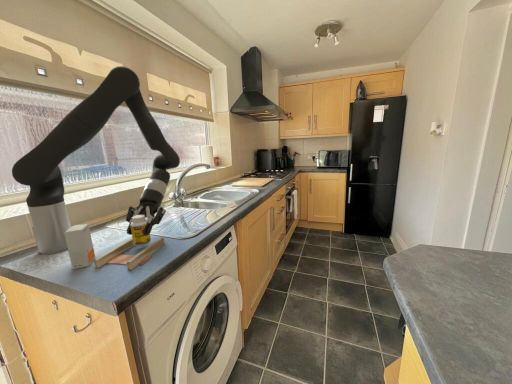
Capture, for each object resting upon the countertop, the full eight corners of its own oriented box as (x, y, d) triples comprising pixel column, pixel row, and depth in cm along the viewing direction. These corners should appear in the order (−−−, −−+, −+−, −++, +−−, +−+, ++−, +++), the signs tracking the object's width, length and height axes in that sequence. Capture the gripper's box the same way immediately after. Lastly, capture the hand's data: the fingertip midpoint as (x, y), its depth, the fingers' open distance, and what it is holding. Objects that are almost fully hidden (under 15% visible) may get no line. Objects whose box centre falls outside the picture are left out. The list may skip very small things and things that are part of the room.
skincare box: (89, 266, 64) (81, 229, 61) (72, 269, 62) (63, 232, 59) (96, 257, 69) (88, 223, 67) (80, 260, 68) (72, 225, 65)
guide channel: (91, 267, 63) (89, 260, 62) (131, 242, 79) (130, 236, 79) (135, 270, 61) (134, 262, 60) (168, 243, 77) (167, 237, 77)
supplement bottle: (134, 248, 71) (129, 220, 69) (133, 242, 75) (128, 215, 73) (152, 243, 74) (148, 216, 72) (150, 238, 78) (146, 212, 76)
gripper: (131, 188, 79) (111, 229, 70) (166, 188, 77) (150, 231, 68) (142, 198, 85) (125, 237, 76) (175, 198, 83) (161, 239, 74)
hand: (137, 234), depth 72 cm, fingers closed on supplement bottle, 5 cm apart
